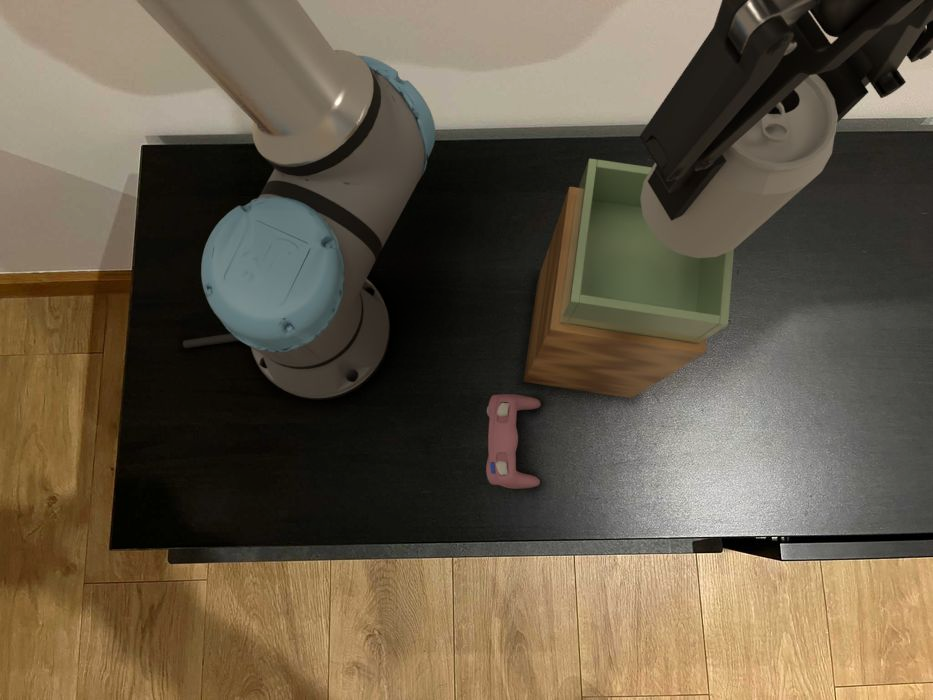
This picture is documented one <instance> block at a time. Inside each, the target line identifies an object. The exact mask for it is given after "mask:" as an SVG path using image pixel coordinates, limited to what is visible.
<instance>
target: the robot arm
mask: <svg viewBox="0 0 933 700" xmlns="http://www.w3.org/2000/svg"><path fill="white" fill-rule="evenodd" d="M135 1H136V2H137V3H138V5H139V6H140V7H141V8H143V10H144V11H145V12H146V13H147V14H148V15H149V16H150V17H151V18H152V19H153V21H155V22H156V23H157V24H158V26H160V27H161V28H162V29H163V30H164V31H165V32H166V33H167V34H168V36H170V37H171V39H173V40H174V41H175V43H177V44H178V45H179V47H181V49H182V50H183V51H184V52H185V53H186V54H188V56H189V57H190V58H191V59H192V60H193V61H194V62H195V63H196V64H197V65H198V66H199V67H200V68H201V70H203V71H204V72H205V73H206V74H207V75H208V76H209V78H211V80H213V81H214V82H215V84H217V86H219V88H220V89H221V90H222V91H223V92H224V93H225V94H226V95H227V96H228V97H229V98H230V99H231V100H232V101H233V102H234V103H235V104H236V105H237V106H238V107H239V108H240V109H241V110H242V111H243V112H244V113H245V115H247V116H248V117H249V118H250V119H251V120H252V126H251V127H252V130H251V133H252V134H251V135H252V140H253V144H254V146H255V148H256V149H257V151H258V153H259V154H260V155H261V156H262V157H263V158H264V159H265V160H266V162H267V163H269V164H270V165H271V166H272V167H273V171H272V173H271V175H270V177H269V178H268V180H267V182H266V184H265V185H264V187H263V189H262V191H261V192H260V194H259V196H258V197H257V198H254V199H252V200H250V202H249V203H247V204H245V205H243V206H242V205H238V206H235V207H234V208H233V209H232V210H230V211H229V212H228V213H226V215H224V217H222V218H221V219H220V221H218V223H217V224H216V225H215V226H214V228H213V230H212V231H211V233H210V234H209V236H208V239H207V240H206V243H205V246H204V249H203V253H202V258H201V267H200V268H201V271H200V276H201V284H202V288H203V293H204V294H205V298H206V300H207V302H208V304H209V306H210V308H211V310H212V311H213V313H214V314H215V315H216V317H217V318H218V319H219V321H220V322H221V323H222V324H223V326H224V327H225V329H226V330H227V331H228V332H229V333H226V334H218V335H211V336H205V337H197V338H191V339H185V340H183V341H182V346H183V348H184V349H193V348H198V347H199V348H200V347H206V346H213V345H220V344H227V343H233V342H242V343H243V344H245V345H246V346H248V347H250V349H251V353H252V355H253V358H254V361H255V363H256V365H257V366H258V368H259V369H260V371H261V372H262V373H263V375H264V376H265V377H266V378H267V379H268V380H269V381H270V382H271V383H272V384H274V385H275V386H277V387H278V388H279V389H281V390H283V391H284V392H287V393H288V394H290V395H292V396H295V397H298V398H302V399H305V400H313V401H325V400H332V399H333V400H334V399H338V398H341V397H345V396H346V395H349V394H351V393H353V392H355V391H357V390H358V389H360V388H362V387H363V386H364V385H365V384H366V383H368V381H370V380H371V379H372V378H373V377H374V375H376V373H377V372H378V370H379V369H380V367H381V366H382V364H383V363H384V360H385V358H386V355H387V353H388V350H389V346H390V343H391V330H392V329H391V320H390V316H389V312H388V309H387V305H386V303H385V300H384V299H383V297H382V295H381V293H380V291H379V290H378V289H377V287H376V286H375V285H374V284H373V283H372V282H371V280H369V279H368V277H369V274H370V272H371V271H372V268H373V267H374V265H375V263H376V260H377V259H378V256H379V255H380V252H381V251H382V249H383V248H384V246H385V244H386V242H387V240H388V239H389V237H390V235H391V233H392V231H393V229H394V228H395V225H396V224H397V222H398V221H399V219H400V216H401V215H402V212H403V211H404V209H405V207H406V205H407V204H408V202H409V200H410V198H411V196H412V194H413V193H414V191H415V189H416V187H417V185H418V183H419V181H420V180H421V178H422V176H423V175H424V173H425V171H426V169H427V166H428V165H427V164H428V160H429V157H430V155H431V153H432V150H433V148H434V146H435V141H436V125H435V120H434V117H433V115H432V111H431V109H430V107H429V105H428V104H427V102H426V100H425V98H424V97H423V95H421V93H420V92H419V91H418V89H417V88H416V87H415V86H414V84H412V83H411V82H410V81H409V80H408V79H407V80H406V79H405V80H404V79H401V78H400V76H399V71H398V70H396V69H395V68H393V67H391V66H390V65H388V64H387V63H385V62H383V61H381V60H379V59H376V58H374V57H371V56H367V55H358V54H356V53H354V52H351V51H348V50H345V49H333V47H332V46H331V44H330V43H329V42H328V41H327V39H326V37H325V36H324V35H323V34H322V32H321V31H320V29H319V28H318V27H317V25H316V24H315V22H314V21H313V20H312V18H311V17H310V16H309V14H308V13H307V11H306V10H305V9H304V7H303V6H302V4H301V3H300V2H299V0H135ZM718 9H719V10H718V12H717V15H716V17H715V21H714V25H713V27H712V29H711V31H710V32H709V33H708V35H707V37H705V39H704V40H703V42H702V43H701V45H700V46H699V48H698V49H697V51H696V52H695V54H694V55H693V57H692V58H691V60H690V61H689V62H688V64H687V66H686V67H685V68H684V69H683V72H682V73H681V74H680V76H679V77H678V79H676V82H675V83H674V85H673V86H672V88H671V89H670V91H669V92H668V93H667V95H666V97H665V98H664V99H663V101H662V102H661V104H660V105H659V107H658V108H657V110H656V111H655V112H654V114H653V115H652V117H651V118H650V120H649V121H648V123H647V124H646V126H645V127H644V129H643V130H642V132H641V133H640V135H639V138H640V140H641V141H642V144H643V145H644V146H645V149H646V150H647V151H648V154H649V155H650V156H651V158H652V160H653V161H654V164H655V163H656V165H657V166H656V167H655V170H654V171H653V173H652V175H651V176H650V178H649V180H648V181H647V182H648V183H649V185H650V186H651V188H652V190H653V191H654V193H655V195H656V196H657V198H658V200H659V201H660V203H661V205H662V206H663V208H664V210H665V211H666V213H667V215H668V216H669V218H670V220H671V221H672V220H674V219H676V218H678V217H680V216H682V215H683V214H684V213H685V212H686V211H687V209H688V208H689V207H690V206H691V204H692V203H693V202H694V201H695V200H696V198H697V197H698V196H699V195H700V193H701V192H702V191H703V190H704V188H705V187H706V186H707V185H708V184H709V182H710V181H711V180H712V179H713V177H714V176H715V175H716V174H717V172H718V171H719V170H720V169H721V167H722V166H723V165H724V164H725V163H726V159H725V158H724V156H723V155H722V154H723V153H724V152H725V151H726V150H728V149H729V148H730V147H731V146H732V145H733V144H734V143H735V142H736V141H738V140H739V139H740V138H741V137H742V136H743V135H744V134H745V133H746V132H748V131H749V130H750V129H751V128H752V127H753V126H754V125H755V124H756V123H757V122H759V121H760V120H761V119H762V118H763V117H764V116H765V115H766V114H767V113H769V112H770V111H771V110H772V109H773V108H774V107H775V106H776V105H777V104H779V103H780V102H781V101H782V100H783V99H784V98H785V97H786V96H787V95H789V94H790V93H791V92H792V91H793V90H794V89H795V88H796V87H797V86H799V85H800V84H801V83H802V82H803V81H804V80H805V79H806V78H807V77H809V76H810V75H814V74H817V75H818V76H819V77H820V78H821V79H822V80H823V81H824V82H825V83H826V85H827V87H828V89H829V90H830V92H831V94H832V96H833V97H834V100H835V105H836V110H837V115H838V119H837V124H838V123H839V122H840V121H841V120H842V119H843V118H844V117H845V116H846V115H847V114H848V113H850V111H851V110H852V109H853V108H854V107H855V106H857V104H858V103H860V101H861V100H863V99H864V97H866V95H868V93H869V90H868V88H867V86H868V85H869V84H870V85H871V86H872V88H873V90H874V91H875V92H876V94H878V96H879V98H880V99H883V98H886V97H888V96H890V95H891V94H893V93H895V92H896V91H897V90H899V89H900V88H902V87H903V86H904V85H905V84H906V83H907V81H906V79H905V78H904V77H903V75H902V74H901V73H900V71H899V70H898V69H899V67H900V66H901V64H902V63H903V62H904V60H905V59H906V57H907V59H908V60H909V61H910V63H915V62H918V60H921V61H922V60H923V59H925V58H928V56H929V55H931V54H932V51H933V0H721V3H720V7H719V8H718ZM826 35H828V36H829V37H832V38H836V39H835V40H833V42H831V41H830V40H829V38H828V37H827V36H826Z"/></svg>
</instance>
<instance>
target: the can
mask: <svg viewBox="0 0 933 700" xmlns="http://www.w3.org/2000/svg"><path fill="white" fill-rule="evenodd" d="M837 119H838V115H837V110H836V105H835V100H834V97H833V96H832V94H831V92H830V90H829V89H828V87H827V85H826V83H825V82H824V81H823V80H822V79H821V78H820V77H819V76H818V75H817V74H814V75H810V76H809V77H807V78H806V79H805V80H804V81H803V82H802V83H801V84H800V85H799V86H797V87H796V88H795V89H794V90H793V91H792V92H791V93H790V94H789V95H787V96H786V97H785V98H784V99H783V100H782V101H781V102H780V103H779V104H777V105H776V106H775V107H774V108H773V109H772V110H771V111H770V112H769V113H767V114H766V115H765V116H764V117H763V118H762V119H761V120H760V121H759V122H757V123H756V124H755V125H754V126H753V127H752V128H751V129H750V130H749V131H748V132H746V133H745V134H744V135H743V136H742V137H741V138H740V139H739V140H738V141H736V142H735V143H734V144H733V145H732V146H731V147H730V148H729V149H728V150H726V151H725V152H724V153H723V154H722V155H723V156H724V158H725V159H726V163H725V164H724V165H723V166H722V167H721V169H720V170H719V171H718V172H717V174H716V175H715V176H714V177H713V179H712V180H711V181H710V182H709V184H708V185H707V186H706V187H705V188H704V190H703V191H702V192H701V193H700V195H699V196H698V197H697V198H696V200H695V201H694V202H693V203H692V204H691V206H690V207H689V208H688V209H687V211H686V212H685V213H684V214H683V215H682V216H680V217H678V218H676V219H674V220H672V221H671V220H670V218H669V216H668V215H667V213H666V211H665V210H664V208H663V206H662V205H661V203H660V201H659V200H658V198H657V196H656V195H655V193H654V191H653V190H652V188H651V186H650V185H649V183H648V182H647V181H648V180H649V178H650V176H651V175H652V173H653V171H654V170H655V167H656V166H657V165H656V163H655V162H654V163H653V166H652V169H651V170H650V172H649V174H648V175H647V177H646V179H645V180H644V182H643V187H642V192H641V197H640V200H641V207H642V215H643V217H644V219H645V221H646V223H647V225H648V227H649V229H650V231H651V232H652V233H653V234H654V235H655V237H656V238H657V239H658V240H659V241H660V242H661V243H662V244H663V245H665V246H666V247H668V248H670V249H672V250H673V251H675V252H677V253H679V254H682V255H686V256H690V257H695V258H708V257H717V256H720V255H722V254H725V253H727V252H730V251H732V250H733V249H734V250H735V249H736V248H737V247H738V246H739V245H741V244H742V243H743V242H744V241H745V240H747V238H748V237H750V236H751V235H752V234H753V233H754V232H755V231H756V230H758V229H759V228H760V227H761V226H762V225H764V224H765V223H766V222H767V221H768V220H769V219H770V218H771V217H772V216H773V215H775V214H776V213H777V212H778V211H779V210H781V209H782V208H783V207H784V206H785V205H786V204H787V203H788V202H789V201H790V200H792V199H793V198H794V197H795V196H796V195H797V194H798V193H800V192H801V191H802V190H803V189H804V188H806V186H807V185H808V184H809V183H811V182H812V181H813V180H814V179H815V178H816V177H818V176H819V175H820V174H821V173H822V172H823V170H824V169H825V167H826V165H827V163H828V161H829V160H830V157H831V156H832V154H833V150H834V149H833V148H834V143H835V142H834V141H835V136H836V131H837V125H838V123H837Z"/></svg>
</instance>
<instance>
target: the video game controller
mask: <svg viewBox="0 0 933 700" xmlns="http://www.w3.org/2000/svg"><path fill="white" fill-rule="evenodd" d="M541 406H542V404H541V401H540V400H539V399H538V398H536V397H533V396H528V395H527V396H526V395H520V394H516V393H515V394H514V393H503V394H502V393H501V394H493V395H491V397H490V398H489V401H488V405H487V407H486V414H487V416H488V418H489V420H488V421H489V422H488V434H487V435H488V436H487V437H488V438H487V439H488V440H487V442H488V443H487V444H488V445H487V448H488V449H487V451H488V457H487V460H486V466H485V467H486V469H485V470H486V471H485V472H486V478H487V481H488V482H489V483H490V485H493V486H501V487H504V488H507V489H514V490H519V489H532V488H535V487H538V486H539V485H540V484H541V480H540V479H539V478H538V476H537V477H536V476H534V475H533V474H527V473H522V472H520V471H518V470H517V464H516V463H517V457H516V455H517V454H516V452H517V448H518V444H519V434H518V428H517V416H518V415H517V413H518V411H528V410H529V411H530V410H535V409H539V408H540V407H541Z"/></svg>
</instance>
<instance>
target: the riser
mask: <svg viewBox="0 0 933 700" xmlns="http://www.w3.org/2000/svg"><path fill="white" fill-rule="evenodd" d="M578 188H579V187H575V186H569V187H568V190H567V192H566V196H565V198H564V202H563V204H562V207H561V210H560V214H559V217H558V219H557V222H556V225H555V228H554V230H553V233H552V237H551V240H550V243H549V246H548V249H547V252H546V254H545V257H544V260H543V264H542V265H541V268H540V269H541V270H540V272H539V275H538V277H537V283H536V289H535V290H536V291H535V297H534V304H533V312H532V319H531V325H530V333H529V340H528V346H527V347H528V348H527V353H526V362H525V368H524V374H523V382H524V383H530V384H536V385H543V386H549V387H556V388H562V389H569V390H575V391H576V390H577V391H583V392H587V393H595V394H601V395H607V396H614V397H620V398H621V397H622V398H626V399H632V398H634V397H635V396H638V395H639V394H641V393H642V392H644V391H645V390H648V389H650V388H651V387H652V386H654V385H656V384H657V383H659V382H661V381H662V380H664V379H666V378H667V377H669V376H670V375H672V374H674V373H675V372H677V371H678V370H680V369H682V368H684V367H686V366H687V365H689V364H690V363H692V362H694V361H695V360H697V359H698V358H700V357H702V356H704V355H706V353H707V345H708V338H707V339H706V340H704V341H703V342H701V343H700V344H694V343H687V342H680V341H674V340H667V339H661V338H654V337H648V336H641V335H634V334H628V333H621V332H615V331H608V330H602V329H595V328H588V327H582V326H575V325H569V324H562V323H559V318H560V311H561V303H562V296H563V288H564V281H565V273H566V266H567V258H568V250H569V243H570V235H571V228H572V220H573V213H574V205H575V197H576V193H577V190H578Z"/></svg>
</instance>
